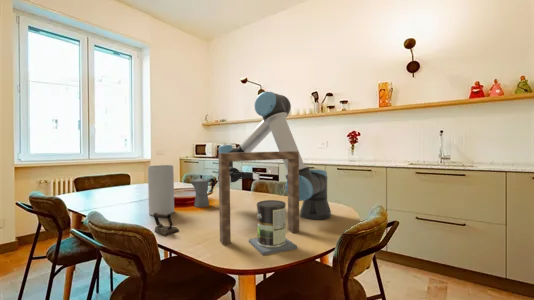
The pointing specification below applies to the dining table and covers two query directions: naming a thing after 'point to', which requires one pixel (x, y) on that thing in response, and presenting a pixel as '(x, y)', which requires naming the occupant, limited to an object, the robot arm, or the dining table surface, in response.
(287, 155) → the walnut archway
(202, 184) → the coffeepot
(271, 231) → the coffee can
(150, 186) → the cylinder vase
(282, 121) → the robot arm
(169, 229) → the clothes iron
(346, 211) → the dining table surface
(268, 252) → the slate mat
